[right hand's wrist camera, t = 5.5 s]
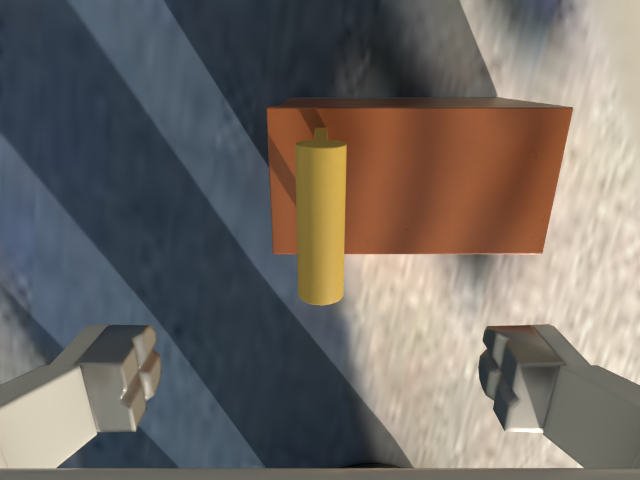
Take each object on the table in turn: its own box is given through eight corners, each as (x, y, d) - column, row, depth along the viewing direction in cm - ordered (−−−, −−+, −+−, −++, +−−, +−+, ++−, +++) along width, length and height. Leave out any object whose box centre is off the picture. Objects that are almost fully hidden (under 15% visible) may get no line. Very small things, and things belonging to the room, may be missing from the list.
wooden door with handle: (274, 247, 28) (254, 323, 20) (268, 106, 25) (240, 122, 16) (534, 247, 28) (627, 323, 20) (562, 105, 25) (690, 122, 16)
